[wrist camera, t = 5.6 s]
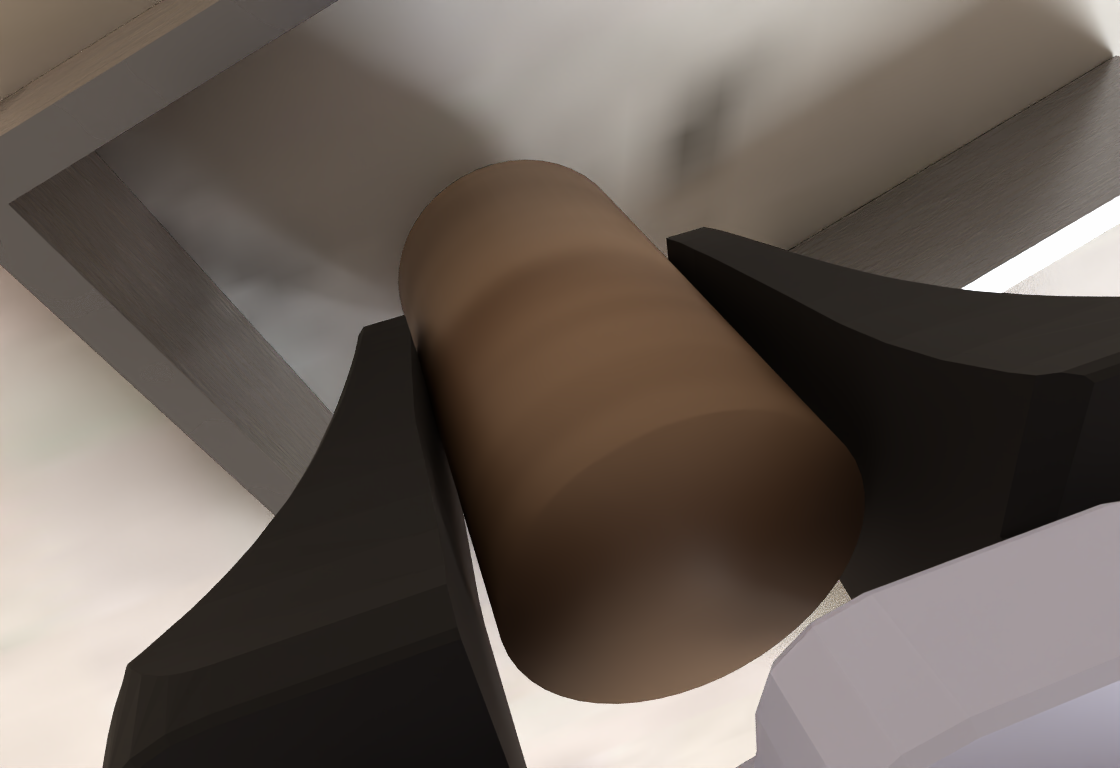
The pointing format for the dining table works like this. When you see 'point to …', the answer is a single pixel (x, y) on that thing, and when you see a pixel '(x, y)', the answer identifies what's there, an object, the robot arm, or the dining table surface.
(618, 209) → the walnut peg
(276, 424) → the rail channel
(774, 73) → the dining table surface
